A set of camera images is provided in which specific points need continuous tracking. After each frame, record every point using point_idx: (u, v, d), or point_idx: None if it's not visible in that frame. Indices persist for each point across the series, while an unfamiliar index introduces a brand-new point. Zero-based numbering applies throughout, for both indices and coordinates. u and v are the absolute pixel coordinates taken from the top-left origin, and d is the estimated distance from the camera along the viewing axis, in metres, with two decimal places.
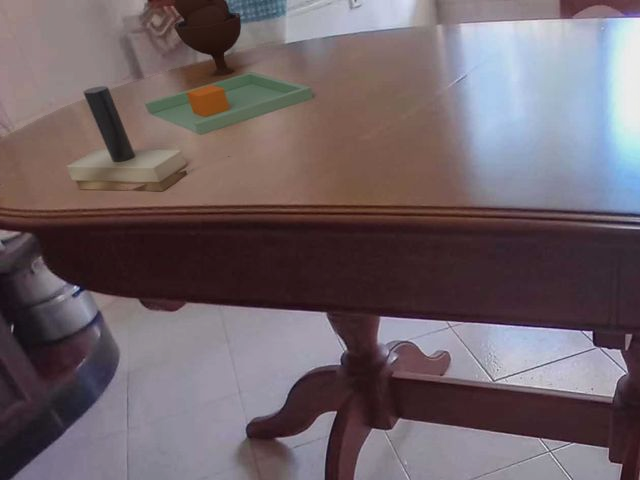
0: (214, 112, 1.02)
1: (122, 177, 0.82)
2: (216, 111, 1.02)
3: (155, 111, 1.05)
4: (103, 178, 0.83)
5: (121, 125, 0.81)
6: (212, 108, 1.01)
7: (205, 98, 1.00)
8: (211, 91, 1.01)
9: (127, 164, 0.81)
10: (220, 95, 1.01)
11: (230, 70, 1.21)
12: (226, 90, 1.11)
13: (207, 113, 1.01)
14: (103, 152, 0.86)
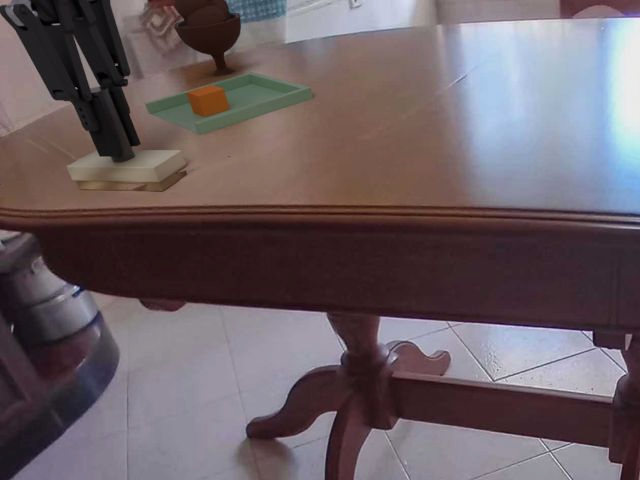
0: (214, 112, 1.02)
1: (122, 177, 0.82)
2: (216, 111, 1.02)
3: (155, 111, 1.05)
4: (103, 178, 0.83)
5: (121, 125, 0.81)
6: (212, 108, 1.01)
7: (205, 98, 1.00)
8: (211, 91, 1.01)
9: (127, 164, 0.81)
10: (220, 95, 1.01)
11: (230, 70, 1.21)
12: (226, 90, 1.11)
13: (207, 113, 1.01)
14: None
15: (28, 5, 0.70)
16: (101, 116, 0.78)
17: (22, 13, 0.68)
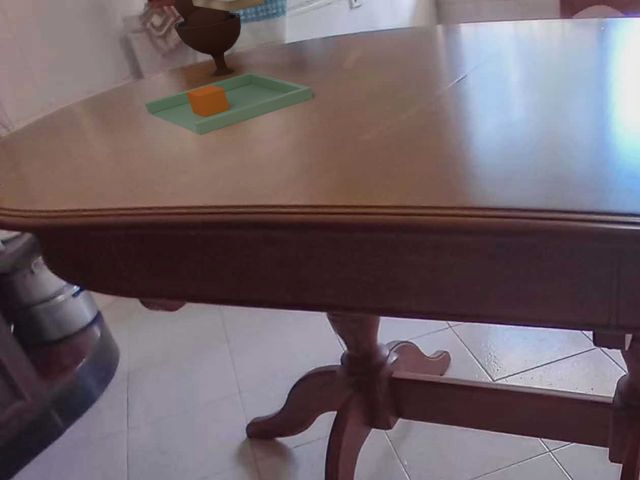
0: (214, 112, 1.02)
1: None
2: (216, 111, 1.02)
3: (155, 111, 1.05)
4: None
5: None
6: (212, 108, 1.01)
7: (205, 98, 1.00)
8: (211, 91, 1.01)
9: None
10: (220, 95, 1.01)
11: (230, 70, 1.21)
12: (226, 90, 1.11)
13: (207, 113, 1.01)
14: None
15: None
16: None
17: None
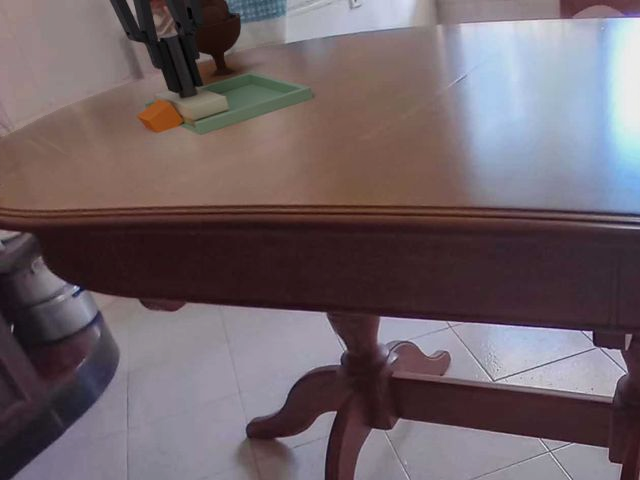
0: None
1: (177, 111, 0.99)
2: None
3: None
4: None
5: (185, 67, 0.97)
6: (166, 127, 0.98)
7: (156, 120, 0.96)
8: (159, 110, 0.97)
9: (181, 100, 0.98)
10: (169, 111, 0.97)
11: (230, 70, 1.21)
12: (226, 90, 1.11)
13: None
14: None
15: None
16: (164, 58, 0.95)
17: None
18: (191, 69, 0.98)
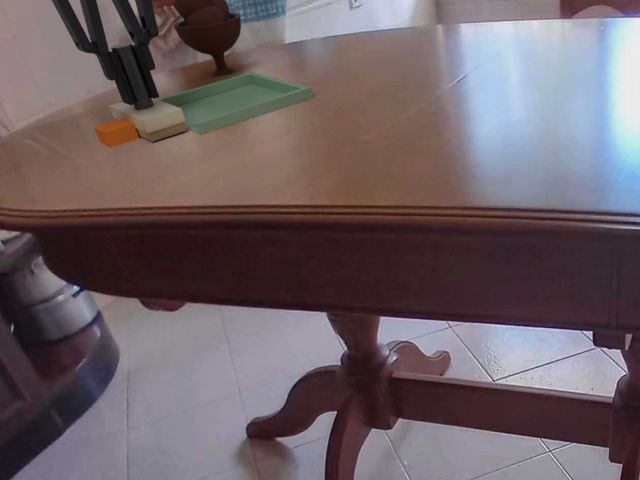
0: None
1: None
2: None
3: None
4: None
5: (139, 79, 0.94)
6: None
7: (112, 134, 0.93)
8: (120, 126, 0.94)
9: (136, 113, 0.94)
10: (130, 130, 0.95)
11: (230, 70, 1.21)
12: (226, 90, 1.11)
13: None
14: None
15: None
16: (116, 69, 0.92)
17: None
18: (146, 80, 0.95)
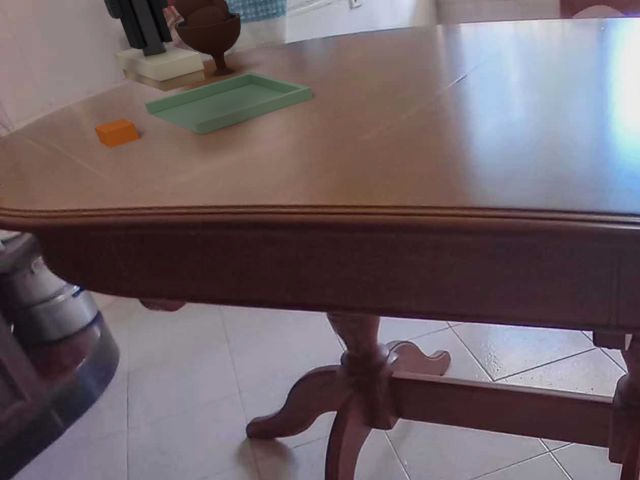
0: None
1: (141, 71, 0.81)
2: None
3: (155, 111, 1.05)
4: (132, 70, 0.83)
5: (149, 18, 0.79)
6: None
7: (112, 134, 0.93)
8: (120, 126, 0.94)
9: (145, 58, 0.80)
10: (130, 130, 0.95)
11: (230, 70, 1.21)
12: (226, 90, 1.11)
13: None
14: None
15: None
16: (122, 4, 0.77)
17: None
18: (157, 20, 0.80)
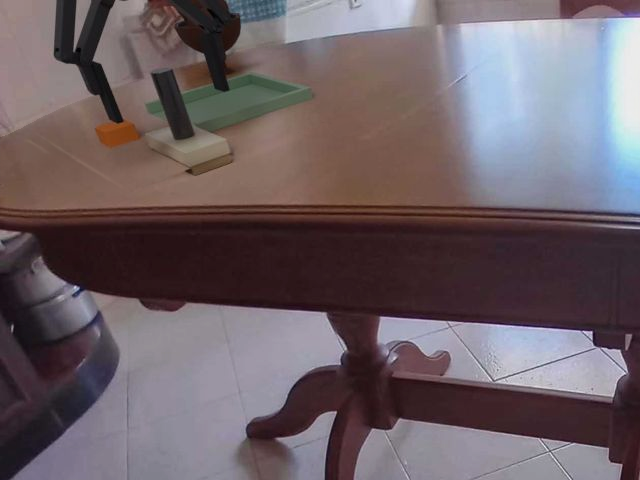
0: None
1: (172, 155, 0.87)
2: None
3: (155, 111, 1.05)
4: (163, 151, 0.88)
5: (180, 106, 0.85)
6: None
7: (112, 134, 0.93)
8: (120, 126, 0.94)
9: (176, 143, 0.86)
10: (130, 130, 0.95)
11: (230, 70, 1.21)
12: None
13: None
14: None
15: None
16: (100, 82, 0.79)
17: None
18: (216, 72, 0.87)
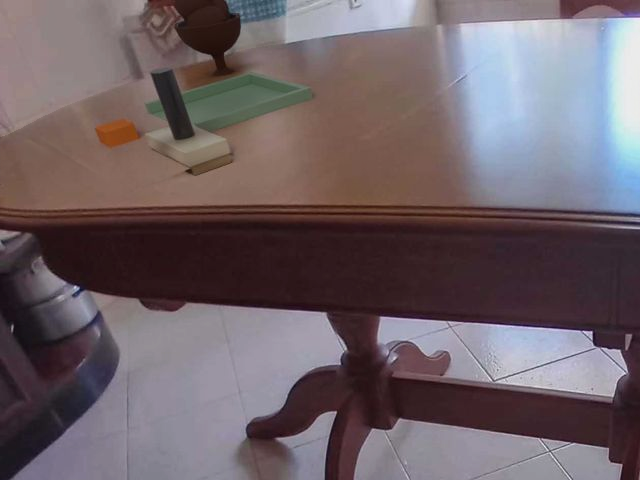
0: None
1: (172, 155, 0.87)
2: None
3: (155, 111, 1.05)
4: (163, 151, 0.88)
5: (180, 106, 0.85)
6: None
7: (112, 134, 0.93)
8: (120, 126, 0.94)
9: (176, 143, 0.86)
10: (130, 130, 0.95)
11: (230, 70, 1.21)
12: (226, 90, 1.11)
13: None
14: None
15: None
16: None
17: None
18: None
